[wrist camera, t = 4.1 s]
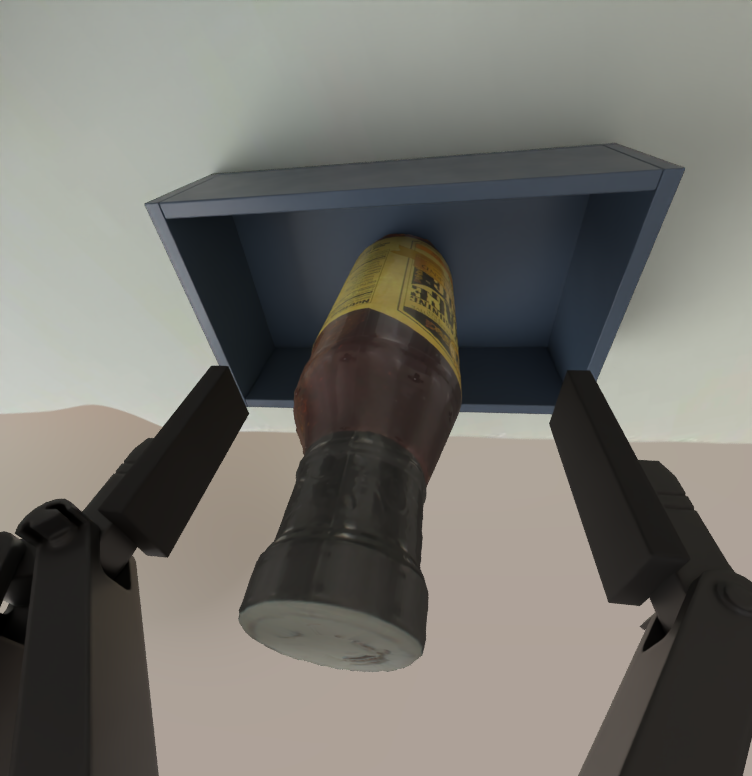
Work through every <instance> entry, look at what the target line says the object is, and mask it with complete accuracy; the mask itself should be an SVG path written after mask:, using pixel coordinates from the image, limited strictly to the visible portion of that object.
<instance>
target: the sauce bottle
mask: <svg viewBox="0 0 752 776" xmlns="http://www.w3.org/2000/svg"><path fill="white" fill-rule="evenodd" d="M461 404H462V391H461V375H460V365H459V355H458V337H457V324H456V316H455V304H454V293H453V282H452V276H451V273H450V270H449V267H448V265H447V263H446V261H445V260H444V258H443V257H442V255H441V254H440V252H439V251H438V250H437V249H436V248H435V247H434V245H433V244H432V243H431V242H430V241H428V240H427V239H423V238H420V237H417V236H413V235H409V234H407V235H405V234H389V235H386V236H384V237H383V238H381V239H379V240H377V241H375V243H374V244H372V245H370V246H368V247H367V248H366V249H365V250H364V251H363V252H362V253H361V255H360V256H359V257H358V259H357V260H356V262H355V264H354V266H353V268H352V270H351V272H350V274H349V276H348V277H347V279H346V281H345V283H344V285H343V288H342V290H341V292H340V294H339V296H338V298H337V300H336V302H335V304H334V306H333V307H332V309H331V311H330V313H329V315H328V317H327V319H326V321H325V323H324V325H323V327H322V329H321V331H320V333H319V334H318V336H317V339H316V341H315V343H314V345H313V348H312V352H311V357H310V359H309V361H308V362H307V363H306V365H305V367H304V369H303V372H302V374H301V376H300V379H299V382H298V385H297V387H296V389H295V391H294V408H293V409H294V410H293V412H294V419H295V424H296V427H297V428H296V432H297V434H298V436H299V439H300V442H301V445H302V447H303V454H304V457H303V459H302V460H301V461H300V464H299V467H298V469H297V472H296V484H295V486H294V489H293V492H292V495H291V497H290V500H289V502H288V505H287V508H286V510H285V513H284V517H283V519H282V522H281V525H280V527H279V530H278V533H277V535H276V538H275V541H274V542H273V543H272V544H271V545H270V546H269V547H268V548H267V549H266V551H265V552H263V553H262V554H261V555H260V557H259V559H258V561H257V562H256V565H255V568H254V571H253V573H252V575H251V578H250V581H249V584H248V587H247V590H246V593H245V596H244V599H243V602H242V605H241V607H240V609H239V623H240V624H241V626H242V627H243V629H244V631H245V632H246V633H247V634H248V635H249V636H250V637H252V638H253V639H255V640H256V641H258V642H260V643H261V644H264V645H265V646H266V647H268V648H270V649H272V650H274V651H276V652H278V653H280V654H283V655H287V656H289V657H292V658H294V659H297V660H304V661H308V662H311V663H314V664H317V665H321V666H328V667H332V668H336V669H347V670H350V671H364V672H366V671H367V672H378V671H387V672H388V671H394V670H397V669H401V668H405V667H407V666H409V665H411V664H412V663H413V662H414V661H415V660H417V659H418V658H419V657H421V656H422V654H423V650H424V645H425V641H426V622H427V612H428V590H427V587H426V583H425V580H424V576H423V574H422V572H421V570H420V562H421V549H422V538H423V537H422V520H423V505H424V502H425V499H426V487H427V484H428V482H429V480H430V478H431V475H432V473H433V471H434V469H435V467H436V464H437V462H438V460H439V458H440V455H441V452H442V451H443V448H444V446H445V443H446V442H447V439H448V437H449V435H450V432H451V430H452V428H453V425H454V423H455V421H456V419H457V416H458V414H459V411H460V408H461Z"/></svg>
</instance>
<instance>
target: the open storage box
mask: <svg viewBox="0 0 752 776" xmlns="http://www.w3.org/2000/svg"><path fill="white" fill-rule="evenodd" d="M684 171H685V168H684V167H682V166H679V165H676V164H673V163H670V162H668V161H665V160H662V159H659V158H656V157H653V156H651V155H648V154H645V153H642V152H639V151H637V150H634V149H631V148H628V147H625V146H623V145H620V144H617V143H608V144H595V145H583V146H570V147H557V148H544V149H531V150H518V151H505V152H492V153H479V154H466V155H453V156H440V157H427V158H414V159H401V160H388V161H375V162H362V163H349V164H336V165H323V166H310V167H297V168H284V169H271V170H258V171H245V172H232V173H219V174H211V175H209V176H206V177H204V178H202V179H199V180H197V181H195V182H193V183H190V184H188V185H186V186H183V187H181V188H179V189H177V190H174V191H172V192H170V193H167V194H165V195H163V196H161V197H158V198H156V199H154V200H151V201H149V202H147V203H145V207H146V209H147V211H148V213H149V215H150V217H151V220H152V222H153V224H154V226H155V228H156V230H157V232H158V235H159V237H160V239H161V241H162V243H163V245H164V248H165V250H166V252H167V254H168V256H169V258H170V261H171V263H172V265H173V267H174V269H175V271H176V273H177V276H178V278H179V280H180V282H181V284H182V286H183V289H184V291H185V293H186V295H187V297H188V299H189V301H190V304H191V306H192V308H193V310H194V312H195V314H196V317H197V319H198V321H199V323H200V325H201V327H202V330H203V332H204V334H205V336H206V338H207V340H208V342H209V345H210V347H211V349H212V351H213V353H214V355H215V358H216V360H217V362H218V364H219V366H229V369H230V371H231V373H232V375H233V378H234V380H235V382H236V385H237V387H238V389H239V391H240V394H241V396H242V398H243V401H244V403H245V405H246V407H278V408H294V391H295V389H296V387H297V385H298V382H299V379H300V376H301V374H302V372H303V369H304V367H305V365H306V363H307V362H308V361H309V359H310V357H311V352H312V348H313V345H314V343H315V341H316V339H317V336H318V334H319V333H320V331H321V329H322V327H323V325H324V323H325V321H326V319H327V317H328V315H329V313H330V311H331V309H332V307H333V306H334V304H335V302H336V300H337V298H338V296H339V294H340V292H341V290H342V288H343V285H344V283H345V281H346V279H347V277H348V276H349V274H350V272H351V270H352V268H353V266H354V264H355V262H356V260H357V259H358V257H359V256H360V255H361V253H362V252H363V251H364V250H365V249H366V248H367V247H368V246H370V245H372V244H374V243H375V241H377V240H379V239H381V238H383V237H384V236H386V235H389V234H405V235H407V234H409V235H413V236H417V237H420V238H423V239H427V240H428V241H430V242H431V243H432V244H433V245H434V247H435V248H436V249H437V250H438V251H439V252H440V254H441V255H442V257H443V258H444V260H445V261H446V263H447V265H448V267H449V270H450V273H451V276H452V282H453V293H454V304H455V316H456V324H457V337H458V355H459V365H460V375H461V391H462V404H461V408H460V411H459V412H484V413H525V414H553V411H554V408H555V405H556V402H557V399H558V396H559V393H560V390H561V387H562V384H563V381H564V378H565V375H566V372H567V370H590V371H591V373H592V375H593V377H594V379H595V380H596V381H597V379H598V376H599V374H600V372H601V369H602V367H603V364H604V362H605V360H606V357H607V355H608V352H609V350H610V348H611V345H612V343H613V340H614V338H615V336H616V333H617V331H618V329H619V326H620V324H621V321H622V319H623V317H624V314H625V312H626V309H627V307H628V305H629V302H630V300H631V298H632V295H633V293H634V290H635V288H636V286H637V283H638V281H639V278H640V276H641V274H642V271H643V269H644V266H645V264H646V262H647V259H648V257H649V255H650V252H651V250H652V247H653V245H654V243H655V240H656V238H657V235H658V233H659V231H660V228H661V226H662V223H663V221H664V219H665V216H666V214H667V212H668V209H669V207H670V204H671V202H672V200H673V197H674V195H675V192H676V190H677V188H678V185H679V183H680V180H681V178H682V176H683V173H684Z"/></svg>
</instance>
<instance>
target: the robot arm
mask: <svg viewBox="0 0 752 776" xmlns="http://www.w3.org/2000/svg"><path fill="white" fill-rule="evenodd" d="M248 415H249V412H248V410H247V408H246V405H245V403H244V401H243V398H242V396H241V394H240V391H239V389H238V387H237V385H236V382H235V380H234V378H233V375H232V373H231V371H230V369H229V366H211V367H210V368H209V369H208V371H207V372H206V373H205V374H204V376H203V377H202V378H201V379H200V381H199V382H198V383H197V385H196V386H195V387H194V388H193V390H192V391H191V392H190V393H189V395H188V396H187V397H186V398H185V400H184V401H183V402H182V403H181V405H180V406H179V407H178V409H177V410H176V411H175V412H174V414H173V415H172V416H171V417H170V419H169V420H168V421H167V422H166V424H165V425H164V426H163V427H162V429H161V430H160V431H159V433H158V434H157V435H156V436H155V438H148V439H146V440H145V441H144V442H142V443H141V444H140V445H138V446H137V447H136V448H135V449H134V450H133V451H132V452H131V453H130V454H129V456H128V457H127V458H126V459H125V461H124V464H121V466H120V467H119V468H118V469H117V470H116V473H115V474H113V475H112V476H111V478H110V479H109V480H108V481H107V482H106V484H105V485H104V486H103V487H102V488H101V490H100V491H99V492H98V493H97V495H96V496H95V497H94V498H93V500H92V501H91V502H90V503H89V504H88V506H87V507H86V508H85V509H84V510H83V511H82V512H81V511H80V510H79V509H78V508H77V507H76V506H75V505H74V504H72V503H71V502H70V501H68V500H66V499H55V500H52V501H49V502H46V503H44V504H43V505H41V506H39V507H37V508H35V509H34V510H33V511H32V512H30V513H29V514H28V515H27V516H26V517H25V518H24V519H23V520H22V521H21V522H20V524H19V525H18V527H17V529H16V532H15V534H16V535H18V536H19V537H21V538H22V539H18V538H17V537H15V536H14V535H12V534H11V533H8V532H0V606H1V604H2V601H3V600H4V601H6V602H8V603H9V605H8V607H7V609H6V611H5V612H4V613H3V614H2V613H0V776H159V775H158V766H157V756H156V746H155V737H154V727H153V718H152V708H151V699H150V690H149V680H148V671H147V662H146V652H145V642H144V633H143V623H142V615H141V605H140V596H139V586H138V576H137V568H136V561H135V559H134V557H133V556H132V555H133V553H134V551H135V550H136V548H137V547H138V548H140V549H141V551H143V552H144V553H145V554H146V555H148V556H158V557H168V556H169V555H170V553H171V551H172V549H173V548H174V546H175V544H176V542H177V541H178V539H179V537H180V535H181V533H182V531H183V530H184V528H185V526H186V525H187V523H188V521H189V519H190V517H191V516H192V514H193V512H194V510H195V509H196V507H197V505H198V503H199V501H200V499H201V498H202V496H203V494H204V493H205V491H206V489H207V487H208V485H209V484H210V482H211V480H212V478H213V477H214V475H215V473H216V471H217V470H218V468H219V466H220V464H221V463H222V461H223V459H224V457H225V455H226V453H227V452H228V450H229V448H230V447H231V445H232V443H233V441H234V439H235V438H236V436H237V434H238V432H239V431H240V429H241V427H242V425H243V423H244V422H245V420H246V418H247V416H248ZM549 424H550V427H551V431H552V434H553V437H554V440H555V443H556V445H557V449H558V452H559V455H560V458H561V461H562V463H563V467H564V470H565V473H566V476H567V479H568V482H569V485H570V488H571V491H572V494H573V496H574V500H575V503H576V506H577V509H578V512H579V515H580V518H581V521H582V524H583V527H584V530H585V533H586V536H587V539H588V542H589V545H590V548H591V551H592V554H593V557H594V560H595V563H596V566H597V569H598V572H599V575H600V578H601V581H602V584H603V587H604V590H605V593H606V596H607V599H608V602H609V603H617V604H626V605H636V606H640V605H642V603H644V602H645V601H646V600H647V599H648V598H649V597H650V600H651V602H652V604H653V607H654V609H655V613H654V614H653V615H652V616H651V617H649V618H648V619H647V620H646V621H645V622H644V623H643V624H642V625H641V626H640V627H641V628H642V629H644V630H645V629H646V630H645V633H644V635H643V637H642V639H641V641H640V643H639V646H638V648H637V650H636V652H635V654H634V656H633V659H632V661H631V663H630V665H629V667H628V669H627V671H626V674H625V676H624V678H623V680H622V682H621V685H620V687H619V689H618V691H617V693H616V695H615V697H614V700H613V702H612V704H611V706H610V708H609V710H608V712H607V715H606V717H605V719H604V721H603V723H602V725H601V727H600V730H599V732H598V734H597V736H596V738H595V741H594V743H593V745H592V747H591V749H590V751H589V753H588V756H587V758H586V760H585V762H584V764H583V766H582V769H581V771H580V773H579V775H578V776H743V772H744V768H745V764H746V759H747V756H748V751H749V747H750V743H751V739H752V582H751V581H750V580H748V579H747V578H745V577H743V576H741V575H739V574H737V573H735V572H734V570H733V569H732V568H731V566H730V565H729V564H728V562H727V561H726V559H725V557H724V556H723V554H722V552H721V551H720V549H719V547H718V546H717V544H716V542H715V541H714V539H713V538H712V536H711V534H710V533H709V531H708V529H707V528H706V526H705V524H704V523H703V521H702V519H701V518H700V516H699V514H698V513H697V511H695V510H694V506H693V505H692V503H691V501H690V500H689V498H688V497H687V496H685V491H684V490H683V488H682V487H681V485H680V483H679V481H678V480H677V478H676V477H675V476H674V475H673V474H672V473H671V472H670V471H669V470H668V469H667V468H666V467H665V466H663V465H662V464H661V463H660V462H659V461H647V460H638V459H637V457H636V455H635V453H634V451H633V450H632V448H631V446H630V444H629V442H628V440H627V438H626V436H625V435H624V433H623V431H622V429H621V427H620V425H619V423H618V422H617V420H616V418H615V416H614V414H613V412H612V410H611V408H610V407H609V405H608V403H607V401H606V399H605V397H604V395H603V393H602V392H601V390H600V388H599V386H598V384H597V382H596V380H595V379H594V377H593V375H592V373H591V371H590V370H567V372H566V375H565V378H564V381H563V384H562V387H561V390H560V393H559V396H558V399H557V402H556V405H555V408H554V411H553V414H552V417H551V420H550V423H549Z"/></svg>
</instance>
